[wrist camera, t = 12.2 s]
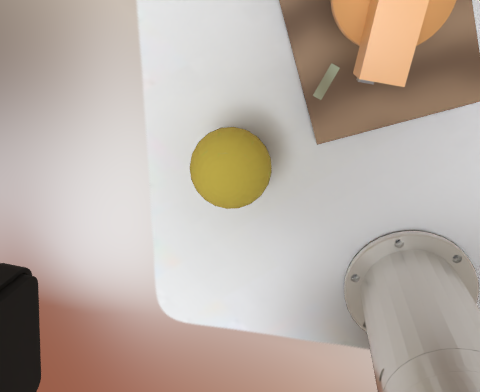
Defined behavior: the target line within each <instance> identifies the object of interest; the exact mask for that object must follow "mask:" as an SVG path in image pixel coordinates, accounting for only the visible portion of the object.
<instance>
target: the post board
mask: <svg viewBox="0 0 480 392" xmlns="http://www.w3.org/2000/svg"><path fill="white" fill-rule="evenodd" d="M279 1H280V5H281V9H282V13H283V17H284V20H285V24H286V28H287V32H288V36H289V39H290V43H291V47H292V51H293V55H294V58H295V62H296V66H297V70H298V74H299V77H300V81H301V85H302V89H303V93H304V96H305V100H306V104H307V108H308V112H309V115H310V119H311V123H312V127H313V131H314V134H315V138H316V142H317V145H318V144H321V143H325V142H329V141H333V140H336V139H340V138H344V137H348V136H352V135H355V134H359V133H363V132H367V131H370V130H374V129H378V128H382V127H385V126H389V125H393V124H397V123H401V122H404V121H408V120H412V119H416V118H419V117H423V116H427V115H431V114H434V113H438V112H442V111H446V110H450V109H453V108H457V107H461V106H465V105H468V104H472V103H476V102H480V53H479V46H478V39H477V33H476V26H475V19H474V12H473V6H472V0H456V3H455V5H454V8H453V10H452V12H451V14H450V16H449V17H448V19H447V20H446V22H445V23H444V24H443V25H442V27H441V28H440V29H439V30H438V31H437V32H436V33H435V34H434V35H433V36H431V37H430V38H429V39H427V40H426V41H424V42H423V43H421V44H419V45H417V46H416V48H415V52H414V55H413V59H412V62H411V66H410V70H409V73H408V77H407V80H406V84H405V87H401V86H395V85H389V84H384V83H378V82H374V85H373V84H367V83H362V82H358V81H357V80H356V79H357V77H356V76H355V75H354V74H353V71H354V67H355V63H356V59H357V55H358V51H359V46H358V45H356V44H354V43H353V42H351V41H350V40H349V39H347V38H346V37H345V35H344V34H343V33H342V32H341V31H340V29H339V28H338V26H337V24H336V22H335V20H334V17H333V13H332V9H331V0H279Z"/></svg>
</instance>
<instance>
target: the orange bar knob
mask: <svg viewBox="0 0 480 392" xmlns="http://www.w3.org/2000/svg"><path fill="white" fill-rule="evenodd" d="M455 3H456V0H331V9H332V13H333V17H334V20H335V22H336V24H337V26H338V28H339V29H340V31H341V32H342V33H343V34H344V35H345V37H346V38H347V39H349V40H350V41H351V42H353V43H354V44H356V45H358V46H359V51H358V55H357V59H356V63H355V67H354V71H353V74H354V75H355V76H356V77H357V79H356V80H357V81H358V82H362V83H367V84H373V85H374V82H378V83H384V84H389V85H395V86H401V87H405V84H406V80H407V77H408V73H409V70H410V66H411V62H412V59H413V55H414V52H415V48H416V46H417V45H419V44H421V43H423V42H424V41H426V40H427V39H429V38H430V37H431V36H433V35H434V34H435V33H436V32H437V31H438V30H439V29H440V28H441V27H442V25H443V24H444V23H445V22H446V20H447V19H448V17H449V16H450V14H451V12H452V10H453V8H454V5H455Z"/></svg>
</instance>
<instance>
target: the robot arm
mask: <svg viewBox="0 0 480 392" xmlns="http://www.w3.org/2000/svg"><path fill="white" fill-rule="evenodd" d="M396 240H400V241H399V242H396ZM455 255H456V256H455ZM453 256H455V257H453ZM354 274H356V276H353V275H354ZM344 294H345V301H346V305H347V308H348V311H349V312H350V314H351V316H352V318H353V319H354V321H355V322H356V323H357V324H358V326H359V327H360V328H362V329H363V330H364V331H365V332H366V333H367V335H368V340H369V345H370V351H371V356H372V362H373V367H374V373H375V378H376V384H377V389H378V392H480V309H479V308H478V306H477V305H476V304H477V300H478V295H479V281H478V277H477V274H476V271H475V269H474V267H473V265H472V263H471V262H470V260H469V259H468V257H467V256H466V255H465V253H464V252H463V251H462V250H461V249H460V248H459V247H457V246H456V245H455V244H454V243H452V242H451V241H449V240H447V239H445V238H444V237H441V236H438V235H435V234H433V233H428V232H422V231H402V232H396V233H391V234H388V235H386V236H383V237H380V238H378V239H376V240H375V241H373V242H371V243H369V244H368V245H367V246H366V247H364V248H363V249H362V250H361V251H360V252H359V253H358V254H357V255H356V257H355V258H354V259H353V260H352V262H351V264H350V266H349V268H348V270H347V273H346V277H345V282H344ZM38 299H39V298H38V281H37V278H36V277H34V276H32V273H31V271H30V270H29V269H28V268H25V267H20V266H15V265H10V264H5V263H0V392H36V391H37V389H38V387H39V383H40V380H41V362H40V331H39V300H38Z"/></svg>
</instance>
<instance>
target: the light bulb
mask: <svg viewBox="0 0 480 392" xmlns="http://www.w3.org/2000/svg"><path fill="white" fill-rule="evenodd" d="M190 173H191V180H192V182H193V184H194V186H195V188H196V190H197V191H198V193H199V194H200V195H201V196H202V197H203V198H204V199H205V200H206V201H208V202H210V203H211V204H213V205H215V206H218V207H222V208H226V209H229V208H240V207H243V206H246V205H249V204H251V203H252V202H253V201H255V200H256V199H257V198H259V197H260V196H261V195H262V193H263V192H264V190H265V188H266V187H267V185H268V184H269V180H270V176H271V159H270V156H269V153H268V151H267V149H266V146H265V145H264V144H263V143H262V142H261V141H260V139H259V138H258V137H257V136H255V135H254V134H252V133H250V132H249V131H247V130H244V129H240V128H236V127H227V128H220V129H217V130H215V131H213V132H210V133H208V134H207V135H206V136H205V137H204V138H203V139H202V140H201V141H199V143H198V144H197V146H196V148H195V150H194V152H193V153H192V157H191V163H190Z"/></svg>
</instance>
